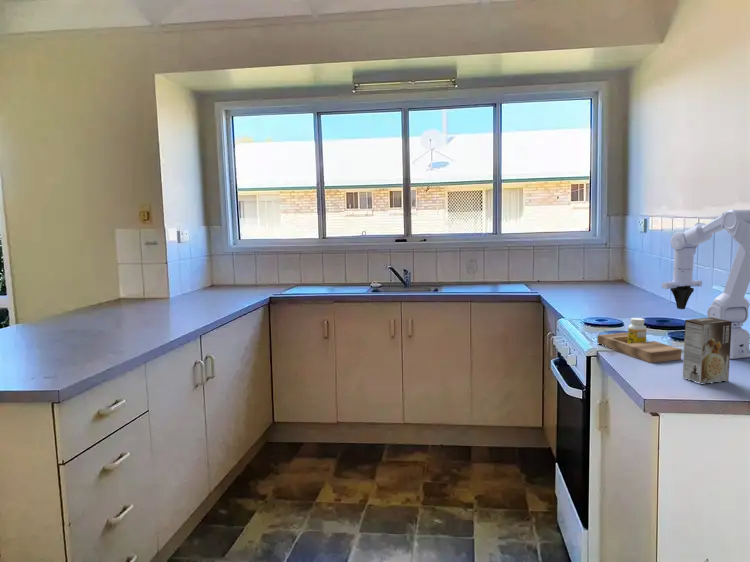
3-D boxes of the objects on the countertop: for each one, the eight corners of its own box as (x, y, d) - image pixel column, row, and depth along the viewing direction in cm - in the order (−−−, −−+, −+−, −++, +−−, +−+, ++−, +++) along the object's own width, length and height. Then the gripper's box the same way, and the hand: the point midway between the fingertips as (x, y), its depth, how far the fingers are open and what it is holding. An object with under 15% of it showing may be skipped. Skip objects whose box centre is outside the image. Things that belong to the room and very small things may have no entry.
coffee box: (709, 374, 160) (712, 316, 158) (729, 381, 154) (733, 321, 152) (681, 378, 157) (684, 319, 155) (700, 385, 151) (704, 324, 149)
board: (681, 359, 175) (681, 349, 175) (650, 362, 172) (650, 352, 172) (625, 341, 198) (625, 332, 198) (597, 344, 195) (597, 335, 195)
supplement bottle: (648, 350, 186) (650, 320, 185) (632, 350, 186) (633, 320, 184) (640, 346, 191) (641, 317, 190) (624, 346, 191) (625, 317, 190)
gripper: (691, 266, 202) (689, 305, 204) (656, 268, 198) (654, 308, 200) (708, 268, 195) (705, 308, 197) (672, 270, 191) (670, 311, 193)
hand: (680, 308), depth 198 cm, fingers closed
